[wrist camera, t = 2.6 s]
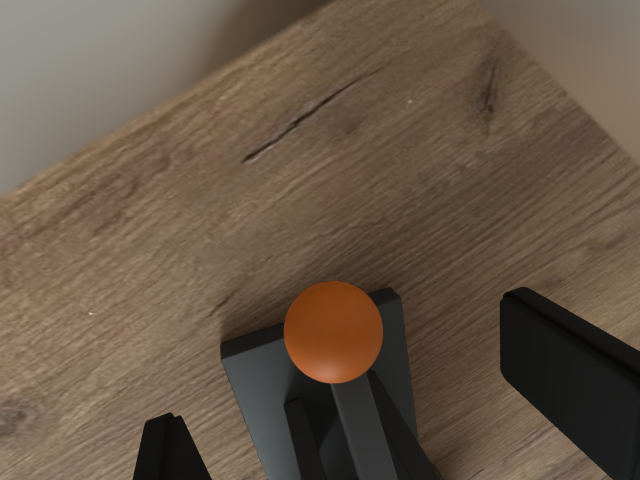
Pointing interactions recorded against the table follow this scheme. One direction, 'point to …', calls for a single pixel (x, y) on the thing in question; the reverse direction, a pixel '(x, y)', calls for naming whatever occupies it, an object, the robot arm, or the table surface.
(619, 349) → the robot arm
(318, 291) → the switch lever
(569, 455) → the table surface
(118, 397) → the table surface
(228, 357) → the switch base
